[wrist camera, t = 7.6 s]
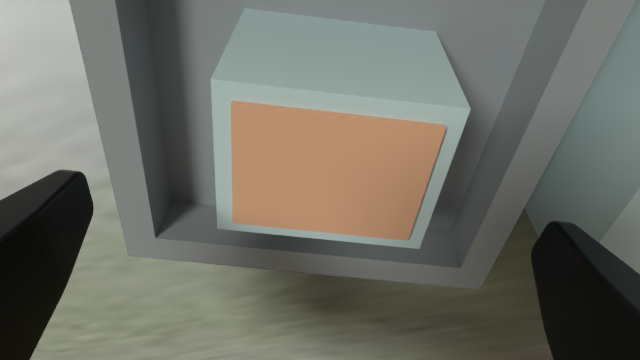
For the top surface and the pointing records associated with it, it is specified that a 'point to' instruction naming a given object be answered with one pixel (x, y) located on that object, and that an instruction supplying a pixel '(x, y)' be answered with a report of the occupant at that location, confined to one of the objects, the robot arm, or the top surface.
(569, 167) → the striped slotted box
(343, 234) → the stub
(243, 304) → the top surface
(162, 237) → the tray
